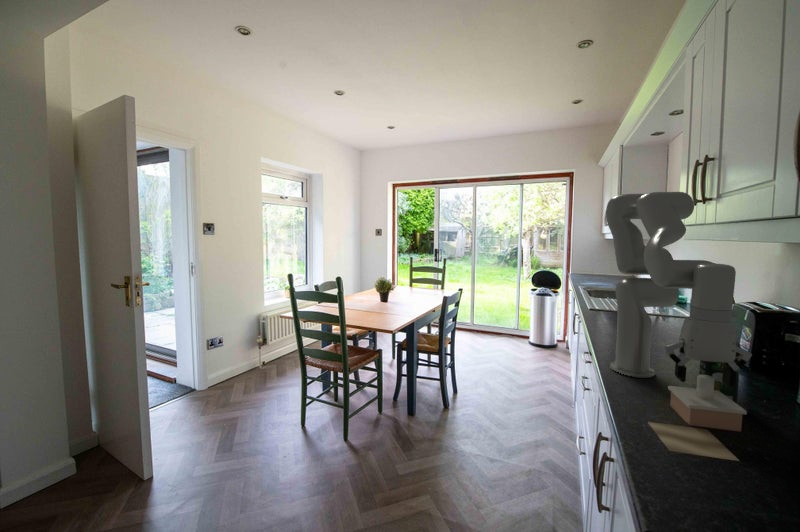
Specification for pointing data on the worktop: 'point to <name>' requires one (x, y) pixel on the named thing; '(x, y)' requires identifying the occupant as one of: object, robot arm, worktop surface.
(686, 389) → the lid
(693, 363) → the worktop surface
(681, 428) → the mat
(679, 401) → the dish
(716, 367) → the coffee jar
